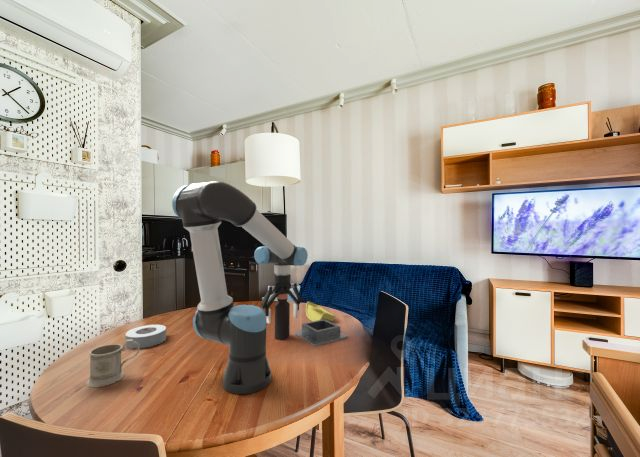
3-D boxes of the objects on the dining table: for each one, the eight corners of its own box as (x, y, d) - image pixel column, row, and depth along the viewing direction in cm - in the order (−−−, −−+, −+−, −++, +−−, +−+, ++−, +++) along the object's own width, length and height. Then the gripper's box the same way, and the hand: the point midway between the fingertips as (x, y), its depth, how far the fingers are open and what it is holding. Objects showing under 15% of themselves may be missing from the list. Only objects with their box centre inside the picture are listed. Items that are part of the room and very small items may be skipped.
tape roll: (153, 349, 115) (153, 336, 115) (116, 349, 115) (116, 336, 115) (172, 335, 130) (173, 324, 130) (140, 335, 130) (140, 324, 130)
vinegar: (287, 340, 124) (287, 295, 125) (272, 339, 125) (272, 294, 126) (291, 334, 131) (291, 292, 131) (277, 333, 132) (277, 291, 132)
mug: (79, 389, 85) (80, 350, 85) (95, 373, 95) (96, 338, 95) (133, 382, 89) (134, 344, 90) (143, 368, 99) (144, 334, 99)
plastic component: (336, 317, 151) (322, 311, 147) (331, 330, 150) (316, 324, 145) (319, 305, 169) (305, 300, 164) (313, 317, 167) (300, 312, 163)
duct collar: (314, 346, 118) (314, 335, 118) (294, 333, 133) (294, 323, 133) (347, 337, 128) (348, 327, 128) (325, 326, 143) (325, 316, 143)
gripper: (301, 270, 139) (301, 313, 138) (253, 275, 125) (253, 322, 125) (309, 272, 132) (309, 317, 132) (259, 277, 118) (259, 327, 118)
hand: (282, 320), depth 128 cm, fingers open, 13 cm apart
